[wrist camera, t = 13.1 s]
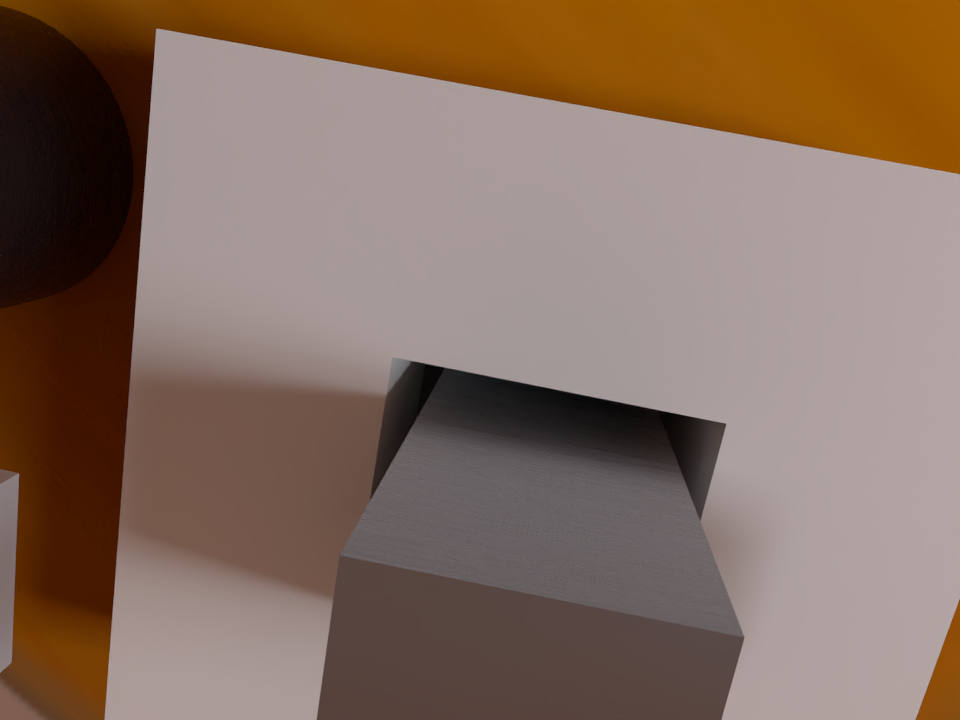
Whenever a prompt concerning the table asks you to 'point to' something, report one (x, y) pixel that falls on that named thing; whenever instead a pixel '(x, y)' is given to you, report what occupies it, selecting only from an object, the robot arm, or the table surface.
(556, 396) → the square bit
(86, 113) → the cylinder
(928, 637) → the socket block
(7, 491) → the robot arm
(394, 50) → the table surface
